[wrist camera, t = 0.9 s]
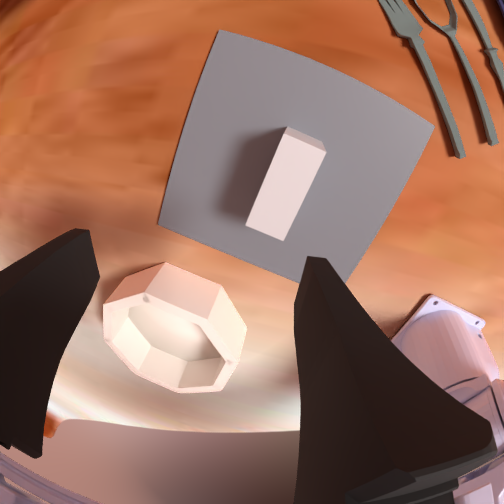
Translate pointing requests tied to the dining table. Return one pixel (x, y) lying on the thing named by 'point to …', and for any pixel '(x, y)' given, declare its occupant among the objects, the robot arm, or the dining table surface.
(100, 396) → the dining table surface
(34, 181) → the dining table surface
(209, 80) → the lid
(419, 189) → the dining table surface
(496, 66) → the cutlery set
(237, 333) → the bowl
